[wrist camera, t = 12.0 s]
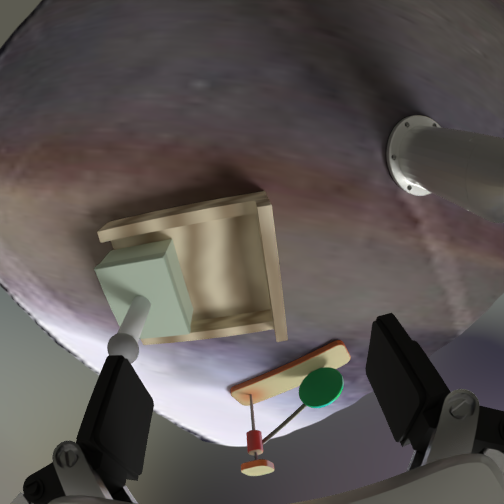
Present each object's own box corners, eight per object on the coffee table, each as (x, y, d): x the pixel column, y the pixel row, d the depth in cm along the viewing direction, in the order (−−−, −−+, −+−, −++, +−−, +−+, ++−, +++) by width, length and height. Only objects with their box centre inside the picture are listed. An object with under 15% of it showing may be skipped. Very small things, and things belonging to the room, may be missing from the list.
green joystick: (172, 237, 38) (139, 309, 23) (194, 309, 44) (181, 394, 28) (109, 250, 38) (56, 317, 23) (136, 316, 44) (106, 394, 29)
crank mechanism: (244, 402, 57) (249, 479, 39) (227, 388, 54) (229, 470, 37) (350, 356, 53) (383, 432, 35) (340, 337, 50) (376, 420, 33)
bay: (264, 191, 38) (271, 204, 31) (280, 311, 46) (287, 340, 40) (108, 222, 38) (87, 240, 32) (148, 329, 46) (139, 357, 40)
